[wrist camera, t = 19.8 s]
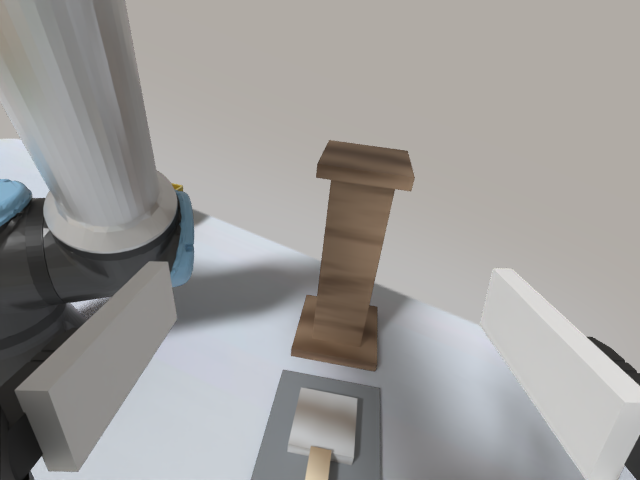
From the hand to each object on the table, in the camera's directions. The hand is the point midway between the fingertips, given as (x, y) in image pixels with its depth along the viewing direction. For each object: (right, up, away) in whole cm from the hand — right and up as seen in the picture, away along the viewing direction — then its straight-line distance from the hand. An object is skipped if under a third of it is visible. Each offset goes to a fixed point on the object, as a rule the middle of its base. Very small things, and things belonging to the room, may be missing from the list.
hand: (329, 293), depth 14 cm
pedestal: (+2, -12, +40) cm, 42 cm away
